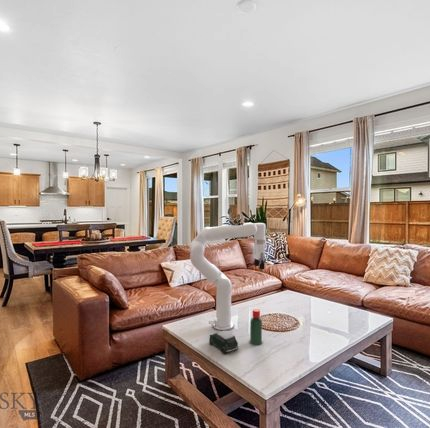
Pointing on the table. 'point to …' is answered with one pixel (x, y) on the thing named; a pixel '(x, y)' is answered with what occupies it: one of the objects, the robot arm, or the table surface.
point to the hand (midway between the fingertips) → (259, 267)
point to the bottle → (256, 331)
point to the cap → (256, 313)
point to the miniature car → (224, 341)
